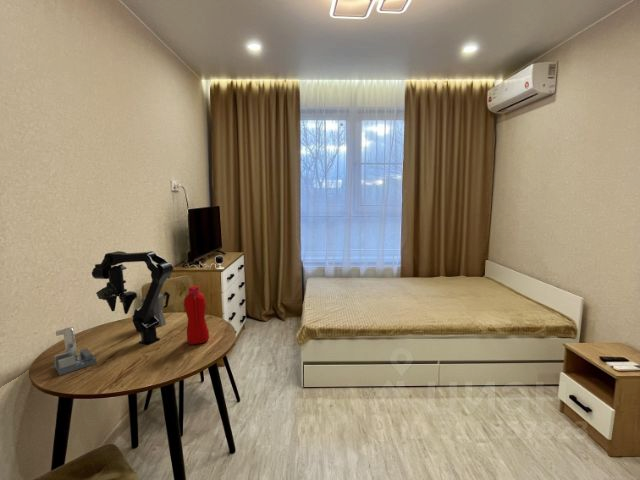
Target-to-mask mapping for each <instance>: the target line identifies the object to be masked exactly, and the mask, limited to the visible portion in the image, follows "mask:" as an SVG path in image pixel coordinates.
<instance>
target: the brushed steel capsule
mask: <svg viewBox="0 0 640 480" xmlns="http://www.w3.org/2000/svg"><path fill="white" fill-rule="evenodd" d="M55 335H56V336H62V335H63V339H64V341H63V342H64V347H65V352H68V351H70V352H71V356H76V355H78V351H77V350H78V349H77V343H76V335H75V329H74V327H70V326H69V327H66V328H64V329H59V330H56V331H55Z"/></svg>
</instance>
